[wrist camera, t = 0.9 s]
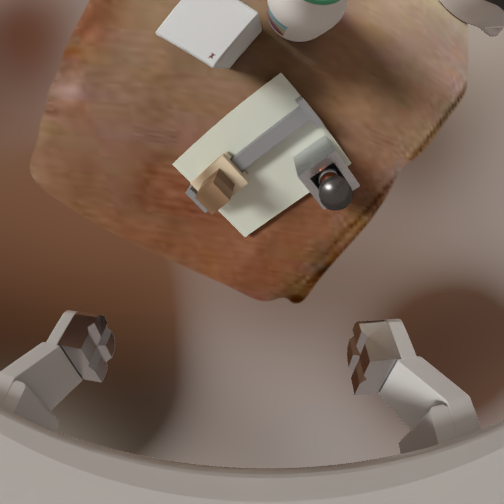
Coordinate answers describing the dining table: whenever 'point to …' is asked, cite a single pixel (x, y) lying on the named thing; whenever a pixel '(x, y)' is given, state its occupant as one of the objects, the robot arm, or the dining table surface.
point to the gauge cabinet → (320, 166)
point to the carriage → (219, 183)
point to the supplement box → (212, 29)
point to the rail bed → (265, 168)
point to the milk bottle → (304, 17)
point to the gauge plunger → (333, 189)
